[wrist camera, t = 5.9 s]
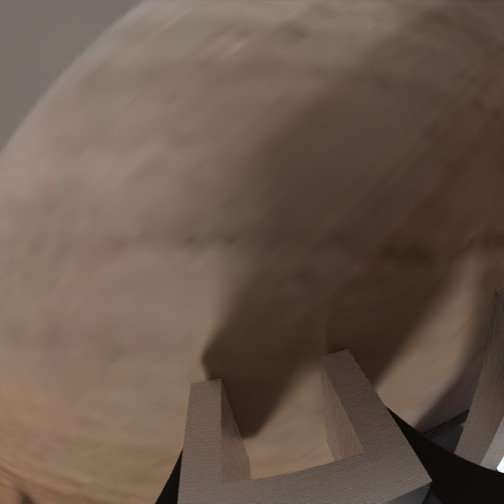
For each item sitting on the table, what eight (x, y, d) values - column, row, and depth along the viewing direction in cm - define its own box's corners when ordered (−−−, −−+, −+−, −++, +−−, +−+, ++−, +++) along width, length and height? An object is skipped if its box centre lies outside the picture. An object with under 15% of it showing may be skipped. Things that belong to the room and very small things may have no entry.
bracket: (347, 348, 10) (432, 481, 4) (350, 433, 11) (400, 543, 5) (191, 383, 10) (174, 539, 4) (224, 461, 11) (230, 582, 5)
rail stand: (499, 236, 10) (612, 280, 4) (448, 468, 14) (485, 526, 8) (371, 273, 10) (499, 376, 4) (363, 506, 14) (390, 575, 8)
